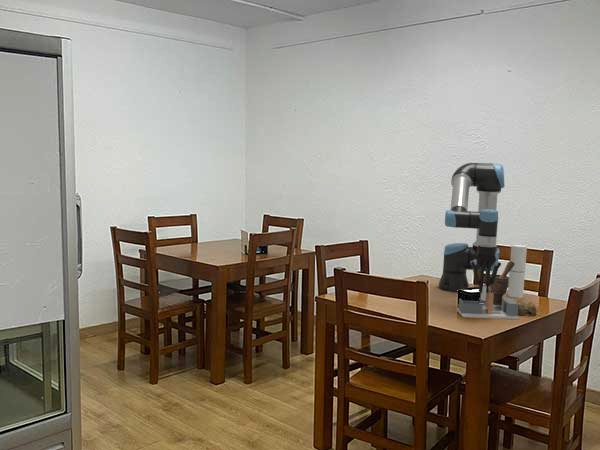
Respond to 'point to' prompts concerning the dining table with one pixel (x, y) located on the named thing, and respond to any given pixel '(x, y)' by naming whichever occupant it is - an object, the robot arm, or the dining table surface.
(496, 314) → the guide base
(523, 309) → the bread roll
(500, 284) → the mortar and pestle
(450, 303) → the dining table surface
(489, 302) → the slip tube
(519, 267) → the cylindrical container
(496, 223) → the robot arm
